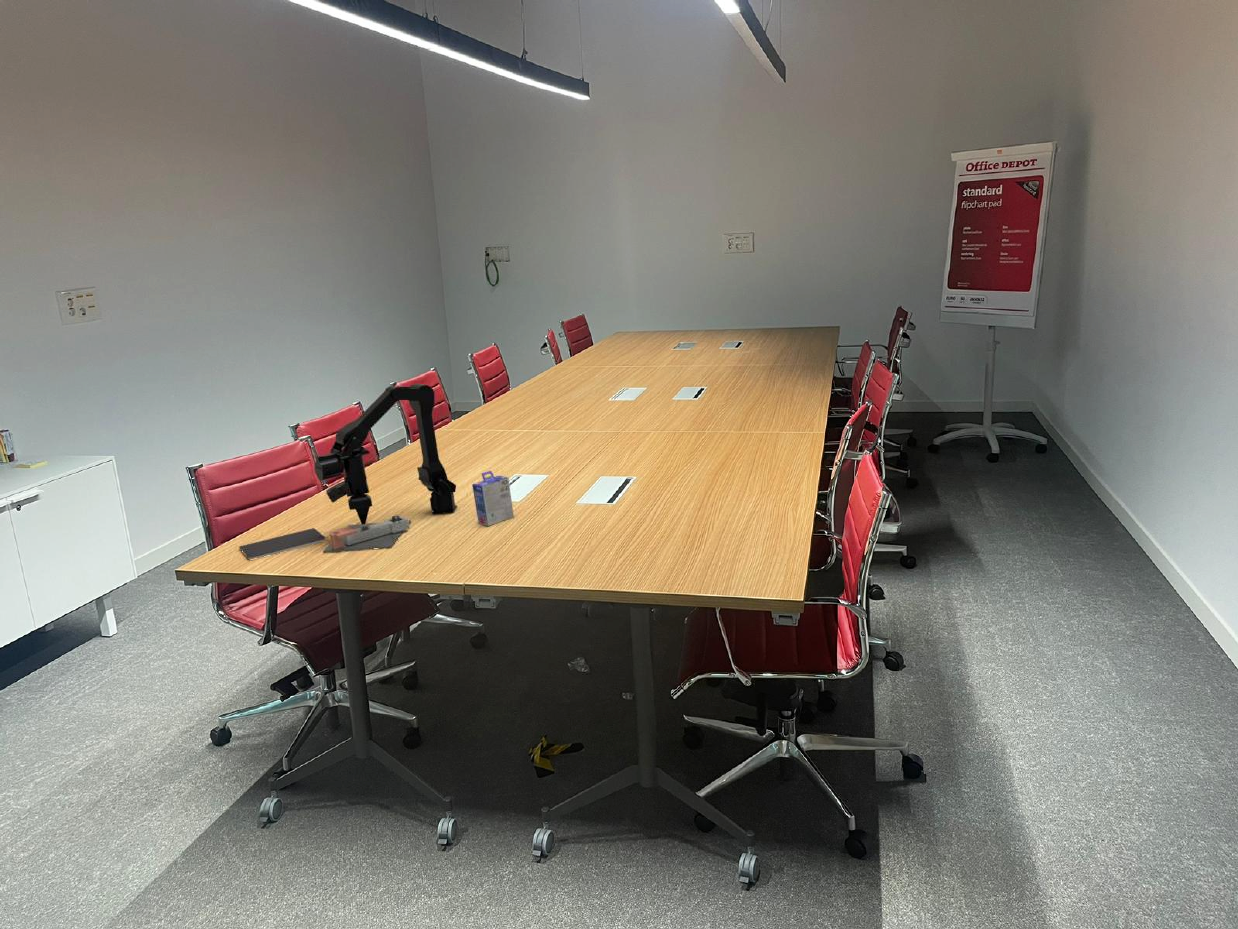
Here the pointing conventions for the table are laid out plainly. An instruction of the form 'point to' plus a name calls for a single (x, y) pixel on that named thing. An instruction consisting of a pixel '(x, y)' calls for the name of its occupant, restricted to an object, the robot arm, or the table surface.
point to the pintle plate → (376, 542)
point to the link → (377, 530)
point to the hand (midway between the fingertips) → (363, 523)
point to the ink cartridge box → (493, 499)
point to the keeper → (340, 536)
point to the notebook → (282, 543)
